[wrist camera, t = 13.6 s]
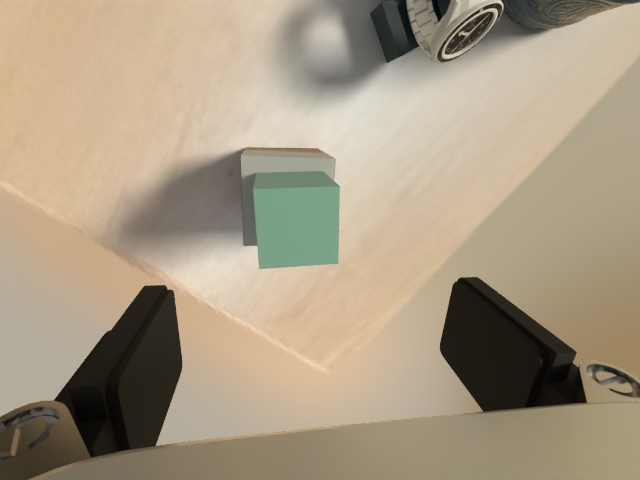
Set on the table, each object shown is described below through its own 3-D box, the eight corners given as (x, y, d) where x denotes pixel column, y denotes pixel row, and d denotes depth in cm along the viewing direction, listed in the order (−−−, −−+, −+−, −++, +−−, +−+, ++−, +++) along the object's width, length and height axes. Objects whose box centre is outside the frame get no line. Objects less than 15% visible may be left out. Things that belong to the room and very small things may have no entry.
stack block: (256, 172, 24) (253, 189, 18) (323, 170, 24) (339, 186, 19) (261, 236, 25) (259, 268, 20) (323, 232, 26) (338, 263, 21)
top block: (245, 149, 27) (240, 155, 23) (325, 153, 28) (335, 158, 24) (247, 227, 30) (243, 245, 25) (321, 228, 31) (329, 245, 27)
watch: (394, 83, 31) (454, 65, 21) (363, -9, 28) (416, -81, 18) (446, 56, 31) (532, 25, 21) (420, -39, 28) (506, -130, 18)
